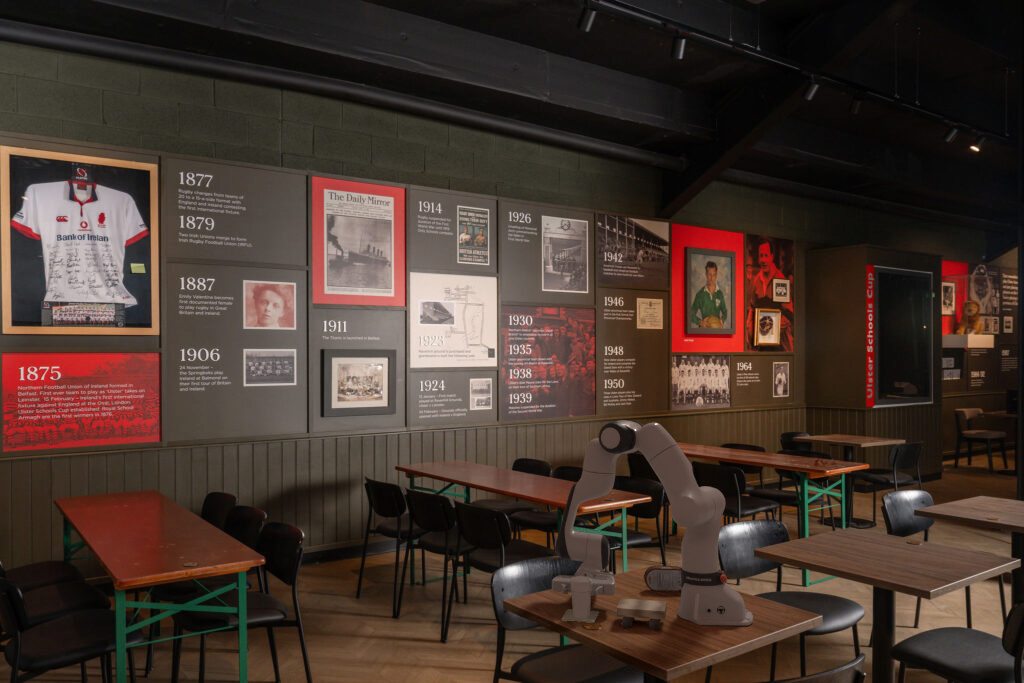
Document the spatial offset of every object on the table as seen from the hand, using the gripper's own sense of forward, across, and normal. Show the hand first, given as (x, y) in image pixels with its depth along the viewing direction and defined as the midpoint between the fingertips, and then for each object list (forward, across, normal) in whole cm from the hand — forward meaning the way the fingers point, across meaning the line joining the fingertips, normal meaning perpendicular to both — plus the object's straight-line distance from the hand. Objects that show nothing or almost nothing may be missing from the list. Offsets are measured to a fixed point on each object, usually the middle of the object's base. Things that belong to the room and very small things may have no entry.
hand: (579, 592), depth 231 cm
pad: (-1, 0, +8) cm, 8 cm away
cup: (-1, 0, +7) cm, 7 cm away
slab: (0, +19, +8) cm, 21 cm away
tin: (-36, +24, +8) cm, 44 cm away
